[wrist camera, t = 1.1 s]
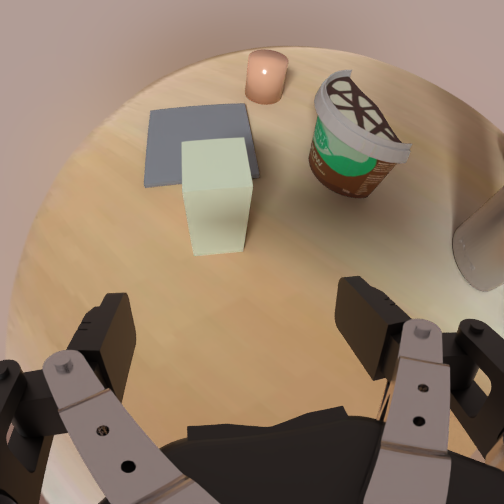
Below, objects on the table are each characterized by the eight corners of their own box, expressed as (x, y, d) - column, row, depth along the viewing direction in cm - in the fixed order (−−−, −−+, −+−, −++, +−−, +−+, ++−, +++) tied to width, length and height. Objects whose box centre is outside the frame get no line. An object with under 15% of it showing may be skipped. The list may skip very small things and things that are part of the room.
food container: (282, 134, 36) (297, 66, 27) (326, 129, 37) (348, 67, 28) (325, 219, 31) (361, 154, 22) (373, 208, 32) (415, 148, 23)
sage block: (237, 209, 31) (244, 137, 22) (243, 251, 29) (253, 186, 20) (191, 213, 30) (181, 141, 21) (194, 256, 28) (182, 192, 19)
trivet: (244, 106, 37) (244, 103, 37) (258, 177, 33) (259, 174, 32) (151, 114, 36) (150, 110, 35) (145, 187, 31) (143, 184, 30)
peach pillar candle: (277, 84, 40) (283, 50, 35) (284, 104, 38) (292, 69, 33) (242, 83, 40) (246, 49, 34) (247, 104, 38) (251, 67, 32)
